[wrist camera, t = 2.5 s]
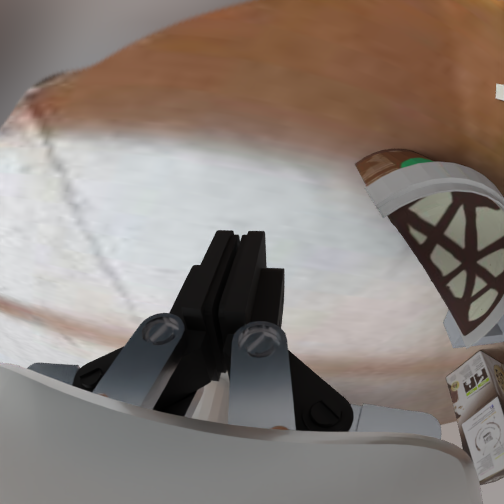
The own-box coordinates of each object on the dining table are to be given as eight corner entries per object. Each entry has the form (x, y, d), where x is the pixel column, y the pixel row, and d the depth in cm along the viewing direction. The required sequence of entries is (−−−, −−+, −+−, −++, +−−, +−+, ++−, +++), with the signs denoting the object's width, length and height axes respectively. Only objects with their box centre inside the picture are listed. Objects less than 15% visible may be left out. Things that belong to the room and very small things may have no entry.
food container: (480, 222, 20) (542, 298, 12) (426, 262, 23) (468, 352, 14) (406, 95, 16) (486, 117, 8) (341, 148, 19) (374, 207, 11)
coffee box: (443, 378, 31) (466, 488, 17) (480, 348, 27) (516, 462, 14) (472, 390, 32) (494, 483, 19) (505, 364, 29) (535, 459, 15)
